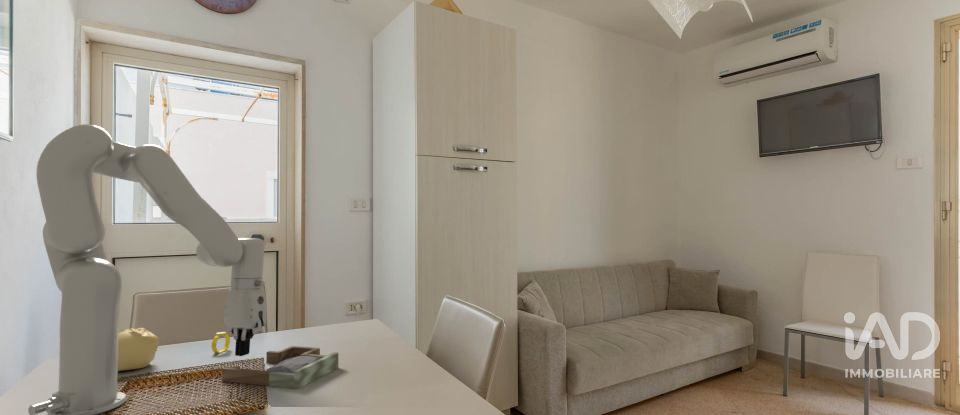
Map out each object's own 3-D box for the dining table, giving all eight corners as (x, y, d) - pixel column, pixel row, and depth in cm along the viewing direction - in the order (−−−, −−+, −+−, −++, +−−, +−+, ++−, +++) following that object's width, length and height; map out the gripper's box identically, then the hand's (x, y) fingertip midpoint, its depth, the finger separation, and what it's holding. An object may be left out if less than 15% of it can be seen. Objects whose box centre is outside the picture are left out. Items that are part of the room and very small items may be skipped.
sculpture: (165, 366, 126) (165, 326, 126) (111, 378, 116) (112, 335, 116) (147, 359, 132) (148, 322, 133) (95, 370, 122) (96, 330, 123)
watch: (223, 350, 142) (224, 330, 143) (231, 350, 142) (232, 331, 142) (208, 354, 136) (210, 334, 137) (217, 354, 136) (218, 334, 136)
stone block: (262, 389, 112) (299, 382, 111) (259, 369, 113) (296, 362, 111) (289, 375, 124) (323, 369, 123) (286, 357, 124) (320, 351, 123)
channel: (298, 388, 107) (298, 371, 107) (221, 380, 113) (222, 364, 113) (350, 361, 128) (350, 346, 128) (284, 355, 134) (284, 342, 134)
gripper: (279, 284, 123) (276, 354, 121) (234, 282, 127) (230, 349, 125) (259, 287, 116) (254, 361, 114) (212, 284, 120) (207, 355, 118)
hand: (242, 354), depth 120 cm, fingers closed
